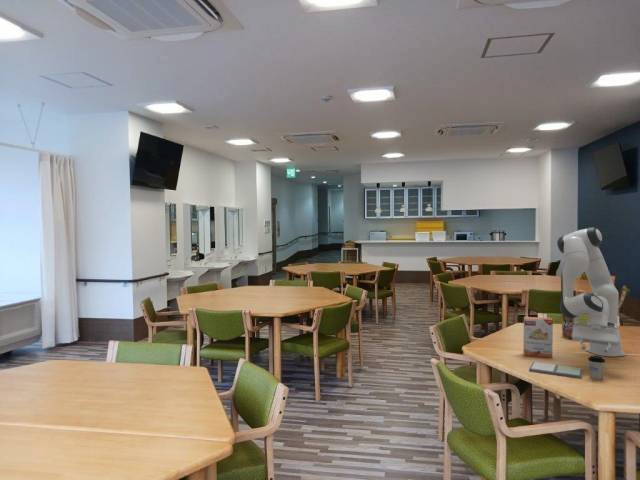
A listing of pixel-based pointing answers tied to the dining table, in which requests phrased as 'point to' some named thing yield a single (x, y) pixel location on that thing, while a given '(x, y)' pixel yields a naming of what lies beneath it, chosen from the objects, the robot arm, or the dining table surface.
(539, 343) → the cracker box
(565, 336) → the candy box
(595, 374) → the coffee cup
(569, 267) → the robot arm
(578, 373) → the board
